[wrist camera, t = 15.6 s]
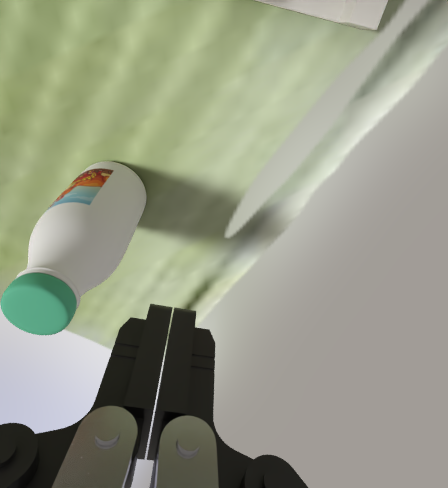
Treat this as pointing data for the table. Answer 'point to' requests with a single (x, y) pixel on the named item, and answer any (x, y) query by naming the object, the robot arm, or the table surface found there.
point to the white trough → (338, 10)
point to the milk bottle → (75, 247)
